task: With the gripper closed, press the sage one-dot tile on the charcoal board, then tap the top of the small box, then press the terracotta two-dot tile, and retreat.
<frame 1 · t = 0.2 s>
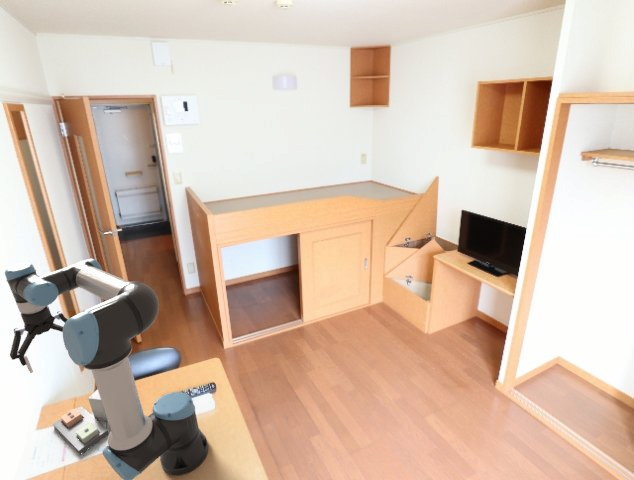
hand: (53, 360, 131), 27 cm above the table, fingers open, 13 cm apart
board: (81, 430, 136), on the table
tile 1: (87, 433, 132), point 3 cm above the table, slide at 0.0 cm
small box: (108, 412, 143), on the table
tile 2: (71, 418, 138), point 3 cm above the table, slide at 0.0 cm
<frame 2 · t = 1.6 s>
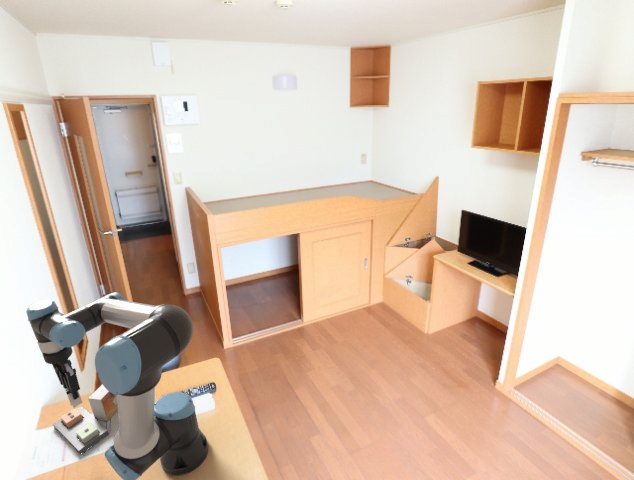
hand: (76, 403, 126), 16 cm above the table, fingers closed
nothing on the table moved.
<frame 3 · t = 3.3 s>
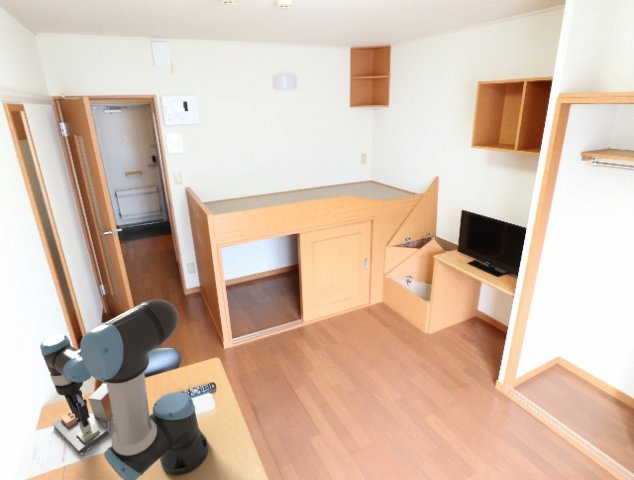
hand: (86, 430, 131), 4 cm above the table, fingers closed
tile 1: (88, 434, 132), point 2 cm above the table, slide at 0.8 cm, touching gripper
everything else where it was.
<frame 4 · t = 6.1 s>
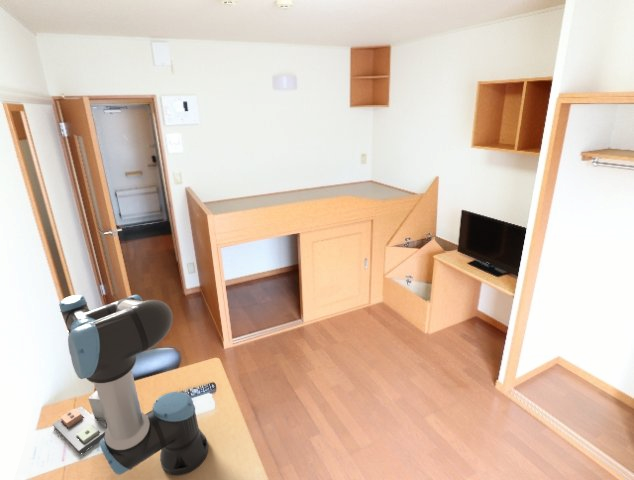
hand: (101, 389, 139), 11 cm above the table, fingers closed
tile 1: (88, 435, 132), point 2 cm above the table, slide at 0.9 cm
everything else where it was.
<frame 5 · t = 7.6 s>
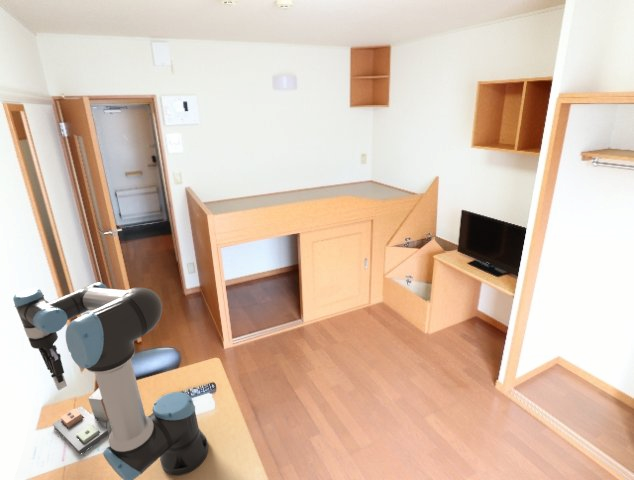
hand: (62, 387, 133), 17 cm above the table, fingers closed
nothing on the table moved.
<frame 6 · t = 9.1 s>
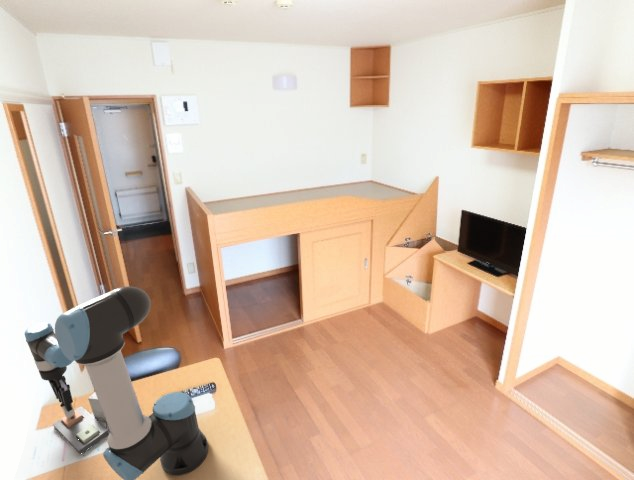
hand: (70, 415, 138), 4 cm above the table, fingers closed
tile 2: (72, 419, 138), point 2 cm above the table, slide at 0.6 cm, touching gripper
everything else where it was.
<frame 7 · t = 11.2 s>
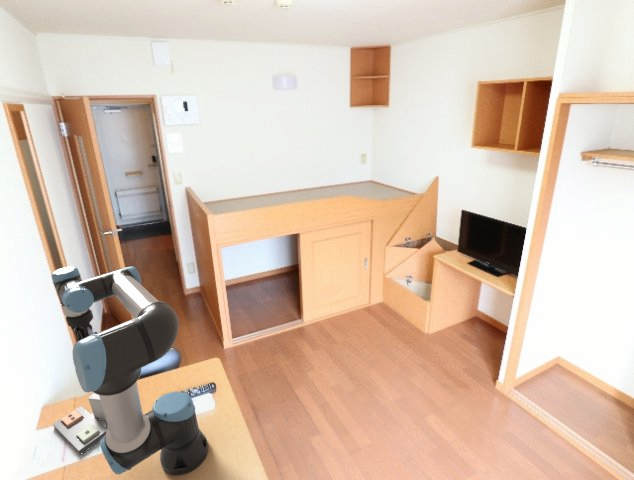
hand: (96, 368, 133), 23 cm above the table, fingers closed
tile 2: (72, 419, 138), point 2 cm above the table, slide at 0.8 cm
everything else where it was.
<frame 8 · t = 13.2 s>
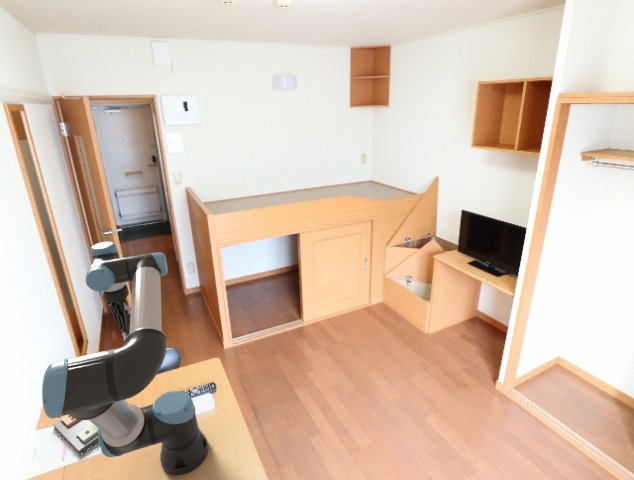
hand: (130, 344, 134), 29 cm above the table, fingers closed
nothing on the table moved.
at the end: tile 1 slide at 0.9 cm; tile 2 slide at 0.8 cm; small box moved 0.3 cm from its start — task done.
